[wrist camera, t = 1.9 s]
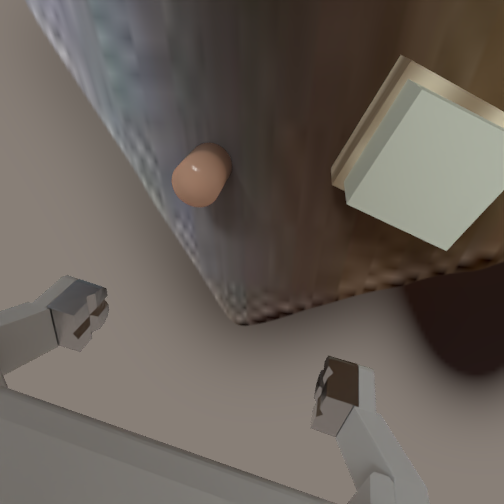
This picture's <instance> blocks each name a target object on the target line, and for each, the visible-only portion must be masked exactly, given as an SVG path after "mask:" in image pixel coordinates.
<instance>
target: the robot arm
mask: <svg viewBox="0 0 504 504" xmlns="http://www.w3.org/2000/svg"><path fill="white" fill-rule="evenodd" d="M106 297H107V289H106V288H104V287H101V286H98V285H96V284H93V283H90V282H87V281H84V280H80V279H77V278H74V277H71V276H68V275H67V276H63V277H61V278H60V279H59V280H58V281H57V282H56V283H55V284H53V285H52V286H51V287H50V288H49V289H48V290H46V291H45V292H44V293H43V294H42V295H41V296H40V297H38V298H37V299H36V300H35V301H34V302H33V303H30V302H27V303H24V304H21V305H18V306H15V307H11V308H9V309H5V310H2V311H0V504H336V503H333V502H330V501H327V500H325V499H322V498H319V497H316V496H313V495H311V494H308V493H305V492H302V491H299V490H296V489H293V488H291V487H288V486H285V485H282V484H279V483H276V482H273V481H271V480H268V479H265V478H262V477H259V476H256V475H254V474H251V473H248V472H245V471H242V470H239V469H237V468H234V467H231V466H228V465H225V464H222V463H220V462H216V461H214V460H211V459H208V458H205V457H202V456H200V455H197V454H194V453H191V452H188V451H185V450H182V449H180V448H177V447H174V446H171V445H168V444H165V443H163V442H160V441H157V440H154V439H151V438H148V437H146V436H143V435H140V434H137V433H134V432H131V431H128V430H126V429H123V428H120V427H117V426H114V425H111V424H108V423H106V422H103V421H100V420H97V419H94V418H91V417H89V416H86V415H83V414H80V413H77V412H74V411H71V410H68V409H66V408H63V407H60V406H57V405H54V404H51V403H49V402H46V401H43V400H40V399H37V398H34V397H32V396H29V395H26V394H23V393H20V392H17V391H14V390H11V389H9V388H8V386H7V384H6V381H5V379H4V376H3V375H5V374H7V373H9V372H11V371H13V370H15V369H17V368H18V367H20V366H22V365H24V364H26V363H28V362H30V361H32V360H34V359H36V358H38V357H39V356H41V355H43V354H45V353H47V352H49V351H51V350H52V349H54V348H56V347H58V345H59V346H63V347H66V348H69V349H72V350H76V351H79V352H81V351H82V349H83V348H84V347H85V346H86V345H87V343H88V342H89V341H90V340H91V339H92V332H93V331H96V330H98V329H100V328H101V327H102V325H103V324H104V322H105V320H106V318H107V316H108V311H109V306H108V303H107V302H106V301H105V298H106ZM314 399H315V400H316V404H315V406H314V408H313V411H312V422H311V428H312V429H315V430H317V431H320V432H323V433H326V434H328V435H331V436H334V437H336V441H337V443H338V446H339V448H340V450H341V453H342V455H343V458H344V460H345V463H346V465H347V468H348V470H349V473H350V475H351V477H352V480H353V482H354V485H355V487H356V489H357V492H356V493H355V494H354V496H353V497H352V498H351V499H350V501H349V502H348V503H347V504H429V497H428V490H427V487H426V486H425V484H424V482H423V481H422V479H421V478H420V476H419V475H418V473H417V471H416V470H415V468H414V467H413V465H412V463H411V462H410V460H409V459H408V457H407V455H406V454H405V452H404V451H403V449H402V448H401V446H400V444H399V443H398V441H397V440H396V438H395V437H394V435H393V433H392V432H391V430H390V428H389V427H388V425H387V424H386V422H385V421H384V419H383V418H382V416H381V415H380V414H377V413H376V398H375V377H374V370H373V369H371V368H368V367H365V366H361V365H357V364H355V363H351V362H348V361H345V360H341V359H338V358H334V357H331V356H328V357H327V358H326V360H325V364H324V370H321V372H320V374H319V377H318V380H317V383H316V388H315V395H314Z"/></svg>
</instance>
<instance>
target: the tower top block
mask: <svg viewBox="0 0 504 504" xmlns="http://www.w3.org/2000/svg"><path fill="white" fill-rule="evenodd" d="M344 188H345V196H346V204H347V205H349V206H352V207H354V208H356V209H358V210H360V211H362V212H364V213H367V214H369V215H371V216H373V217H375V218H377V219H379V220H381V221H384V222H386V223H388V224H390V225H392V226H394V227H396V228H398V229H401V230H403V231H405V232H407V233H409V234H411V235H413V236H415V237H418V238H420V239H422V240H424V241H426V242H428V243H430V244H432V245H435V246H437V247H439V248H441V249H443V250H445V251H447V250H448V249H449V248H450V247H451V246H452V245H453V243H454V242H455V241H456V240H457V239H458V238H459V237H460V236H461V235H462V234H463V233H464V232H465V231H466V230H467V229H468V227H469V226H470V225H471V224H472V223H473V222H474V221H475V220H476V219H477V218H478V217H479V216H480V215H481V214H482V213H483V212H484V210H485V209H486V208H487V207H488V206H489V205H490V204H491V203H492V202H493V201H494V200H495V199H496V198H497V197H498V196H499V194H500V193H501V192H502V191H503V190H504V128H503V127H501V126H499V125H497V124H495V123H493V122H491V121H489V120H487V119H485V118H483V117H481V116H479V115H477V114H475V113H474V112H472V111H470V110H468V109H466V108H464V107H462V106H460V105H458V104H456V103H454V102H452V101H450V100H448V99H446V98H444V97H442V96H441V95H439V94H437V93H435V92H433V91H431V90H429V89H427V88H425V87H423V86H421V85H419V84H417V83H415V82H413V81H411V80H410V79H408V80H407V81H406V83H405V84H404V86H403V88H402V89H401V91H400V92H399V94H398V96H397V97H396V99H395V100H394V102H393V104H392V105H391V107H390V108H389V110H388V112H387V113H386V115H385V116H384V118H383V120H382V121H381V123H380V124H379V126H378V128H377V129H376V131H375V132H374V134H373V136H372V137H371V139H370V140H369V142H368V144H367V145H366V147H365V148H364V150H363V152H362V153H361V155H360V156H359V158H358V160H357V161H356V163H355V164H354V166H353V168H352V169H351V171H350V172H349V174H348V176H347V177H346V179H345V180H344Z"/></svg>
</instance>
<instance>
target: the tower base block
mask: <svg viewBox="0 0 504 504" xmlns="http://www.w3.org/2000/svg"><path fill="white" fill-rule="evenodd" d="M408 79H410V80H411V81H413V82H415V83H417V84H419V85H421V86H423V87H425V88H427V89H429V90H431V91H433V92H435V93H437V94H439V95H441V96H442V97H444V98H446V99H448V100H450V101H452V102H454V103H456V104H458V105H460V106H462V107H464V108H466V109H468V110H470V111H472V112H474V113H475V114H477V115H479V116H481V117H483V118H485V119H487V120H489V121H491V122H493V123H495V124H497V125H499V126H501V127H503V128H504V112H503V111H501V110H499V109H498V108H496V107H494V106H492V105H491V104H489V103H487V102H485V101H483V100H482V99H480V98H478V97H476V96H474V95H473V94H471V93H469V92H467V91H466V90H464V89H462V88H460V87H458V86H457V85H455V84H453V83H451V82H449V81H448V80H446V79H444V78H442V77H441V76H439V75H437V74H435V73H433V72H432V71H430V70H428V69H426V68H424V67H423V66H421V65H419V64H417V63H416V62H414V61H412V60H410V59H408V58H406V57H404V56H402V55H400V57H399V58H398V60H397V62H396V63H395V65H394V67H393V68H392V70H391V71H390V73H389V75H388V76H387V78H386V80H385V81H384V83H383V84H382V86H381V88H380V89H379V91H378V93H377V94H376V96H375V97H374V99H373V101H372V102H371V104H370V105H369V107H368V109H367V110H366V112H365V114H364V115H363V117H362V118H361V120H360V122H359V123H358V125H357V127H356V128H355V130H354V131H353V133H352V135H351V136H350V138H349V140H348V141H347V143H346V144H345V146H344V148H343V149H342V151H341V152H340V154H339V156H338V157H337V159H336V161H335V162H334V164H333V165H332V167H331V178H332V185H333V186H335V187H337V188H339V189H341V190H343V191H345V188H344V180H345V179H346V177H347V176H348V174H349V172H350V171H351V169H352V168H353V166H354V164H355V163H356V161H357V160H358V158H359V156H360V155H361V153H362V152H363V150H364V148H365V147H366V145H367V144H368V142H369V140H370V139H371V137H372V136H373V134H374V132H375V131H376V129H377V128H378V126H379V124H380V123H381V121H382V120H383V118H384V116H385V115H386V113H387V112H388V110H389V108H390V107H391V105H392V104H393V102H394V100H395V99H396V97H397V96H398V94H399V92H400V91H401V89H402V88H403V86H404V84H405V83H406V81H407V80H408Z"/></svg>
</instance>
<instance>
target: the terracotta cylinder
mask: <svg viewBox="0 0 504 504" xmlns="http://www.w3.org/2000/svg"><path fill="white" fill-rule="evenodd" d="M231 171H232V162H231V158H230V156H229V154H228V153H227V152H226V150H225V149H223V148H222V147H221V146H219V145H217V144H214V143H203V144H200V145H198V146H197V147H196V148H195V149H194V150H193V151H192V152H191V153H190V154H189V155H188V156H187V157H186V158H185V159H184V160H183V161H182V162H181V163H180V164H179V165H178V166H177V167H176V169H175V170H174V172H173V175H172V186H173V189H174V191H175V193H176V195H177V196H178V197H179V198H180V199H181V200H182V201H183V202H184V203H186V204H188V205H190V206H194V207H205V206H208V205H210V204H212V203H213V202H214V201H215V200H216V199H217V197H218V195H219V193H220V192H221V190H222V188H223V186H224V185H225V183H226V181H227V179H228V178H229V176H230V174H231Z"/></svg>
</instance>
